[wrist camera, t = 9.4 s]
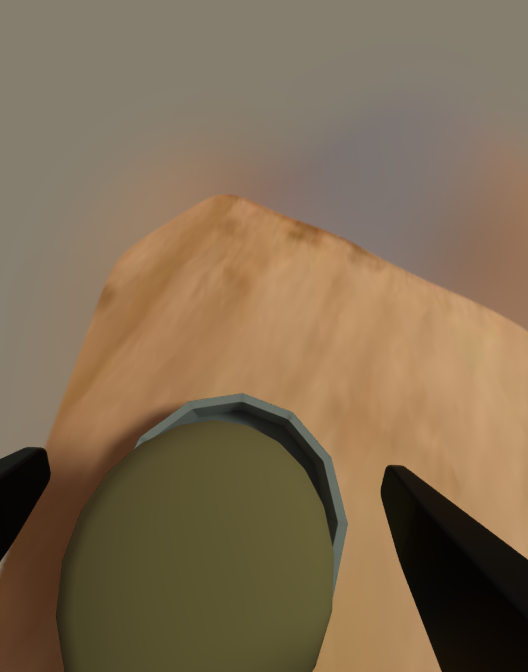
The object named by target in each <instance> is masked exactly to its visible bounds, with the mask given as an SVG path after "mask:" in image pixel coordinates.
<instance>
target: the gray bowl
mask: <svg viewBox="0 0 528 672" xmlns="http://www.w3.org/2000/svg"><path fill="white" fill-rule="evenodd" d="M211 420H219V421H224V422H230V423H236V424H241V425H247V426H250V427H252V428H254V429H255V430H257V431H259V432H261V433H263V434H265V435H266V436H268V437H270V438H272V439H274V440H276V441H278V442H279V443H280V444H281V445H282V446H283V447H284V448H285V449H286V450H287V451H288V452H289V453H290V454H291V455H292V456H293V457H294V459H295V460H296V461H297V462H298V463H299V464H300V465H301V466H302V467H303V468H304V469H305V471H306V473H307V475H308V476H309V478H310V480H311V482H312V484H313V486H314V488H315V490H316V492H317V494H318V496H319V498H320V500H321V502H322V504H323V506H324V509H325V514H326V519H327V523H328V528H329V533H330V537H331V542H332V547H333V551H334V576H333V594H334V590H335V585H336V580H337V575H338V570H339V565H340V560H341V555H342V550H343V545H344V540H345V536H346V531H347V526H348V523H347V519H346V515H345V511H344V507H343V503H342V499H341V495H340V491H339V487H338V483H337V479H336V475H335V471H334V467H333V463H332V459H331V457H330V456H329V454H328V453H327V452H326V451H325V450H324V448H323V447H322V446H321V445H320V444H319V443H318V441H317V440H316V439H315V438H314V437H313V435H312V434H311V433H310V432H309V431H308V430H307V428H306V427H305V426H304V425H303V424H302V423H301V421H300V420H299V419H298V418H297V417H296V415H295V414H294V413H293V412H290V411H288V410H285V409H283V408H280V407H277V406H275V405H272V404H270V403H267V402H264V401H262V400H259V399H257V398H254V397H251V396H249V395H246V394H244V393H241V394H235V395H228V396H221V397H215V398H208V399H201V400H195V401H189V402H188V403H186V404H185V405H183V406H182V407H181V408H179V409H178V410H177V411H175V412H174V413H173V414H171V415H170V416H168V417H167V418H166V419H164V420H163V421H162V422H160V423H159V424H157V425H156V426H155V427H153V428H152V429H151V430H149V431H148V432H147V433H145V434H144V435H142V436H141V437H140V439H139V440H138V442H137V444H136V446H135V448H136V447H137V446H139V445H140V444H141V443H143V442H145V441H147V440H149V439H151V438H153V437H155V436H157V435H159V434H162V433H164V432H166V431H168V430H170V429H172V428H174V427H176V426H179V425H184V424H190V423H197V422H204V421H211ZM135 448H134V449H135Z"/></svg>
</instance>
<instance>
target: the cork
mask: <svg viewBox="0 0 528 672" xmlns="http://www.w3.org/2000/svg"><path fill="white" fill-rule="evenodd" d="M333 576H334V551H333V547H332V542H331V537H330V533H329V528H328V523H327V519H326V514H325V509H324V506H323V504H322V502H321V500H320V498H319V496H318V494H317V492H316V490H315V488H314V486H313V484H312V482H311V480H310V478H309V476H308V475H307V473H306V471H305V469H304V468H303V467H302V466H301V465H300V464H299V463H298V462H297V461H296V460H295V459H294V457H293V456H292V455H291V454H290V453H289V452H288V451H287V450H286V449H285V448H284V447H283V446H282V445H281V444H280V443H279V442H278V441H276V440H274V439H272V438H270V437H268V436H266V435H265V434H263V433H261V432H259V431H257V430H255V429H254V428H252V427H250V426H247V425H241V424H236V423H230V422H224V421H219V420H211V421H204V422H197V423H190V424H184V425H179V426H176V427H174V428H172V429H170V430H168V431H166V432H164V433H162V434H159V435H157V436H155V437H153V438H151V439H149V440H147V441H145V442H143V443H141V444H140V445H139V446H137V447H136V448H135V449H134V450H133V451H132V452H130V453H129V454H128V455H127V456H126V457H125V458H124V459H122V460H121V461H120V462H119V463H118V464H117V465H116V466H114V467H113V468H112V469H111V470H110V471H109V472H108V473H107V475H106V476H105V478H104V479H103V480H102V482H101V483H100V485H99V486H98V488H97V489H96V491H95V492H94V493H93V495H92V496H91V498H90V499H89V501H88V502H87V504H86V505H85V506H84V508H83V509H82V511H81V513H80V516H79V518H78V521H77V524H76V526H75V529H74V532H73V534H72V537H71V539H70V542H69V545H68V547H67V550H66V553H65V555H64V558H63V561H62V569H61V578H60V586H59V595H58V603H57V611H56V620H57V626H58V633H59V639H60V645H61V652H62V658H63V664H64V671H65V672H312V671H313V669H314V668H315V666H316V662H317V659H318V656H319V653H320V649H321V646H322V643H323V639H324V636H325V633H326V629H327V626H328V623H329V620H330V616H331V613H332V600H333Z"/></svg>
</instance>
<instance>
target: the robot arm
mask: <svg viewBox="0 0 528 672" xmlns="http://www.w3.org/2000/svg"><path fill="white" fill-rule="evenodd" d="M50 475H51V472H50V466H49V461H48V456H47V452H46V450H45V449H44V448H39V447H26V448H23V449H21V450H19V451H17V452H15V453H12V454H10V455H8V456H6V457H4V458H1V459H0V561H1V560H2V558H3V557H4V555H5V554H6V552H7V551H8V549H9V548H10V546H11V545H12V543H13V542H14V540H15V539H16V537H17V535H18V534H19V532H20V530H21V529H22V527H23V525H24V523H25V522H26V520H27V518H28V517H29V515H30V513H31V512H32V510H33V508H34V506H35V505H36V503H37V501H38V500H39V498H40V496H41V494H42V493H43V491H44V489H45V488H46V486H47V484H48V482H49V480H50ZM381 499H382V502H383V506H384V509H385V513H386V517H387V520H388V524H389V527H390V531H391V534H392V538H393V541H394V545H395V548H396V552H397V555H398V558H399V561H400V564H401V567H402V570H403V573H404V575H405V578H406V580H407V583H408V586H409V588H410V591H411V593H412V596H413V599H414V601H415V604H416V606H417V609H418V611H419V614H420V617H421V619H422V622H423V624H424V627H425V630H426V632H427V635H428V637H429V640H430V643H431V645H432V648H433V650H434V653H435V656H436V658H437V661H438V663H439V666H440V669H441V671H442V672H528V559H526V558H525V557H524V556H522V555H521V554H520V553H518V552H517V551H516V550H514V549H513V548H512V547H510V546H509V545H508V544H506V543H505V542H504V541H503V540H501V539H500V538H499V537H497V536H496V535H495V534H493V533H492V532H491V531H489V530H488V529H487V528H485V527H484V526H483V525H481V524H480V523H479V522H477V521H476V520H475V519H473V518H472V517H471V516H469V515H468V514H467V513H465V512H464V511H463V510H461V509H460V508H459V507H458V506H456V505H455V504H454V503H452V502H451V501H450V500H448V499H447V498H446V497H444V496H443V495H442V494H440V493H439V492H438V491H436V490H435V489H434V488H432V487H431V486H430V485H428V484H427V483H426V482H424V481H423V480H422V479H420V478H419V477H418V476H416V475H415V474H414V473H412V472H411V471H410V470H409V469H407V468H406V467H404V466H401V465H388V466H387V467H386V469H385V473H384V477H383V481H382V486H381Z"/></svg>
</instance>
